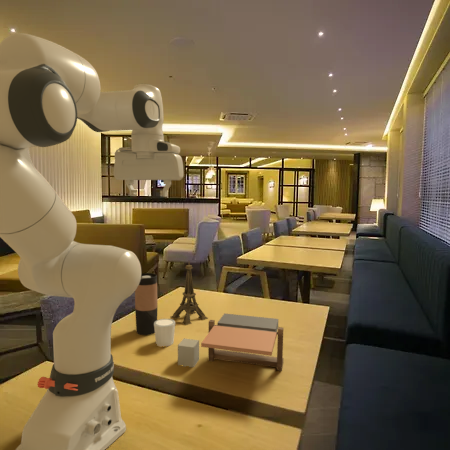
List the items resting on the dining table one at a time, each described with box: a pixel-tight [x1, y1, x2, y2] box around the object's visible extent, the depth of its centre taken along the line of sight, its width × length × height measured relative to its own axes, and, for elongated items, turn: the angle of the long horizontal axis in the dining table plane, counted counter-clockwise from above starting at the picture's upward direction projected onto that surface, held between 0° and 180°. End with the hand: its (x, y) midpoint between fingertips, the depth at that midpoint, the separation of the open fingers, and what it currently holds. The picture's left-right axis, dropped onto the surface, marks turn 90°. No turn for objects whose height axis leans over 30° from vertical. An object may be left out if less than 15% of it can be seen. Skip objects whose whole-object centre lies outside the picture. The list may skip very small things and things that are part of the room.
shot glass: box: [154, 318, 176, 348], centre depth 114 cm, size 7×7×7 cm
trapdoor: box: [200, 313, 279, 357], centre depth 98 cm, size 22×18×2 cm
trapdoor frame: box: [207, 319, 284, 372], centre depth 102 cm, size 5×21×12 cm, turn 76°
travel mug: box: [134, 272, 158, 336], centre depth 123 cm, size 8×8×20 cm
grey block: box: [177, 338, 200, 368], centre depth 102 cm, size 5×5×6 cm
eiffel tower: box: [170, 262, 209, 326], centre depth 135 cm, size 11×11×25 cm
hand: (148, 196), depth 99 cm, fingers open, 8 cm apart
